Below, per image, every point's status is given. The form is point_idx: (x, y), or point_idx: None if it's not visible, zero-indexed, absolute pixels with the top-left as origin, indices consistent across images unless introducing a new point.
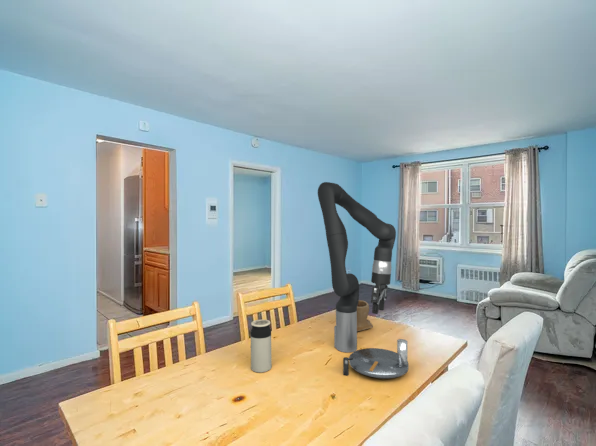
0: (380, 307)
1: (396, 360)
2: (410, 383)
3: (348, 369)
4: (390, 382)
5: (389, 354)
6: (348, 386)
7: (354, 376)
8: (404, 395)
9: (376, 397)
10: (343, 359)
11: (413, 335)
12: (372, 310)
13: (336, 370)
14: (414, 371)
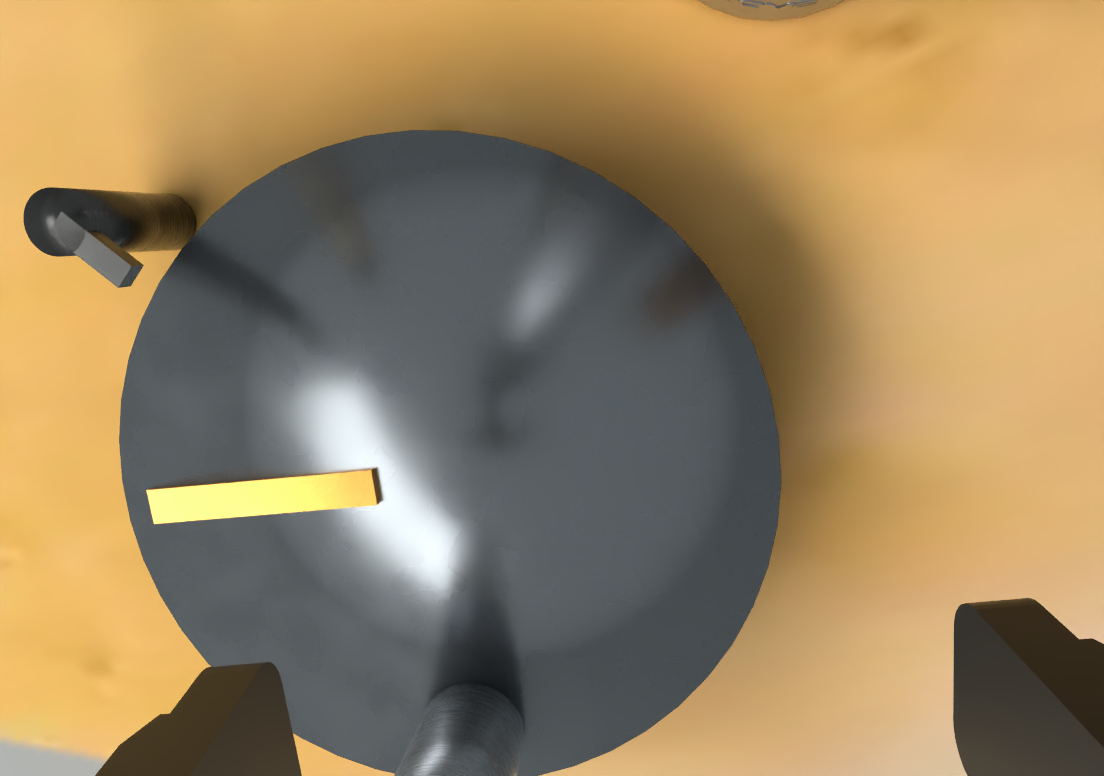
0: (995, 718)
1: (542, 653)
2: None
3: (141, 251)
4: None
5: (656, 542)
6: (13, 344)
7: None
8: None
9: (27, 597)
10: (33, 202)
11: None
12: (177, 712)
13: (179, 94)
14: (631, 749)
